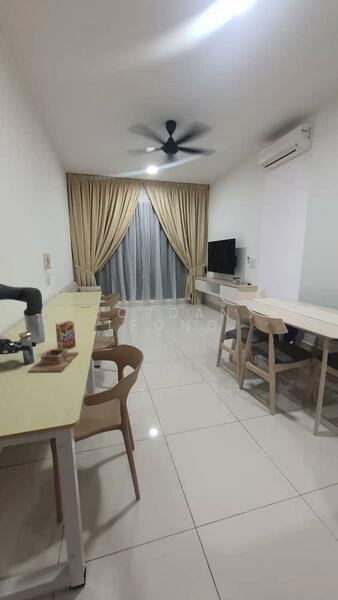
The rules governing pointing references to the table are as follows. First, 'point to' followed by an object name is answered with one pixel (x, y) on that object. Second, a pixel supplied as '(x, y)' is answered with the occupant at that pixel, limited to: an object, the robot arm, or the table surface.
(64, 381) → the table surface
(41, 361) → the socket block
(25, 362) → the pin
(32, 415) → the table surface
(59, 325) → the candy box
